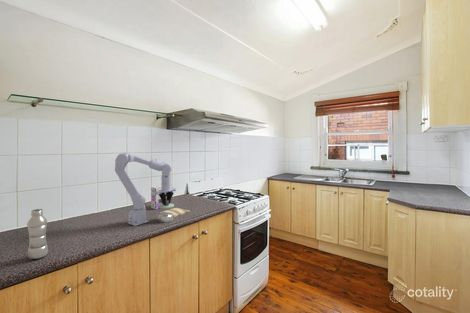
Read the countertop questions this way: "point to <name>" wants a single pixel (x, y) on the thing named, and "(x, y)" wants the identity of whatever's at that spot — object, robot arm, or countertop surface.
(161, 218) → the tin
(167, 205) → the lid
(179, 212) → the board
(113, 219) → the countertop surface
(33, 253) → the plastic bottle
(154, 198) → the candy box
